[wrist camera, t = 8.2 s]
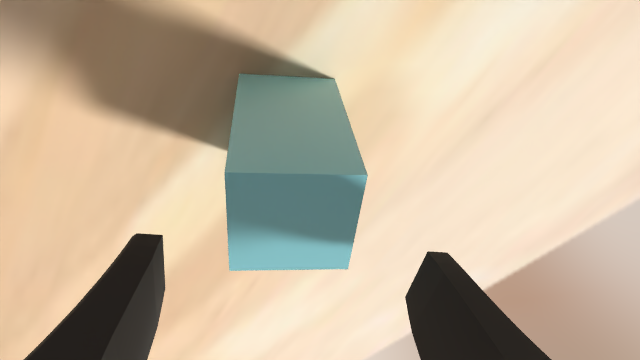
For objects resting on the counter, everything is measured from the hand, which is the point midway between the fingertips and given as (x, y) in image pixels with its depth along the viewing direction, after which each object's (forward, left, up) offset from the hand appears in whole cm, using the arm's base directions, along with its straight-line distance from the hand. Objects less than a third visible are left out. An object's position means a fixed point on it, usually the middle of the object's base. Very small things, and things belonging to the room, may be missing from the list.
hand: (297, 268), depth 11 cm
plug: (0, 0, -9) cm, 9 cm away
